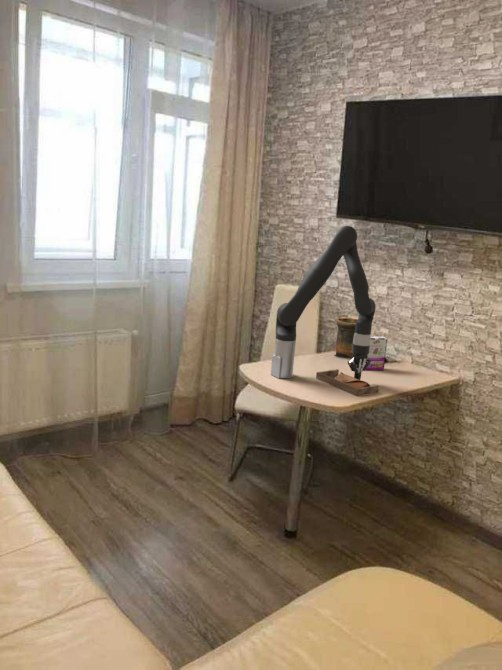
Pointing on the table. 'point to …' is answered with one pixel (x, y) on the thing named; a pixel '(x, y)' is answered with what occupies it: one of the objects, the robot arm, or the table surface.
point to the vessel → (345, 337)
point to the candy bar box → (377, 353)
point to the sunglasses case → (351, 381)
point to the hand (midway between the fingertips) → (357, 380)
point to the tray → (326, 378)
